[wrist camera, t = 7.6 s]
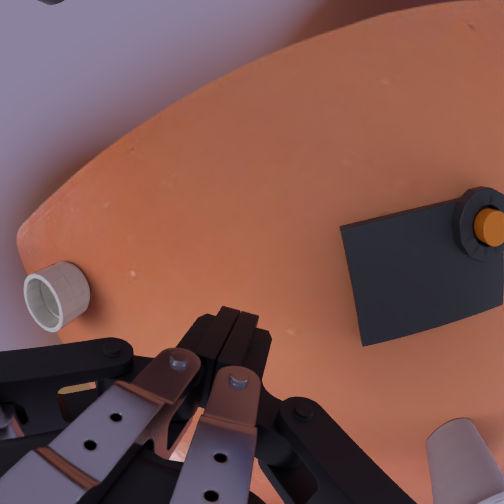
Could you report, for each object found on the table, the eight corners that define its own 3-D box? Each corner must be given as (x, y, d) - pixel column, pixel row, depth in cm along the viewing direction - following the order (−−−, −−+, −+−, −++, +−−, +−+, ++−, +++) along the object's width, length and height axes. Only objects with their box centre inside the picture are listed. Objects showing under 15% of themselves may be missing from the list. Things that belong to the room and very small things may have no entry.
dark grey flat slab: (337, 216, 23) (340, 222, 20) (490, 181, 19) (509, 183, 16) (360, 338, 25) (365, 357, 22) (498, 297, 21) (513, 310, 18)
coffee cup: (406, 433, 27) (428, 543, 12) (480, 395, 24) (528, 492, 10) (421, 468, 28) (437, 558, 14) (484, 436, 25) (517, 519, 11)
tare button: (471, 211, 18) (481, 214, 17) (496, 205, 17) (507, 207, 16) (475, 245, 18) (484, 250, 17) (499, 237, 18) (509, 242, 16)
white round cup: (47, 266, 30) (16, 279, 25) (79, 254, 28) (46, 268, 23) (66, 315, 31) (38, 333, 26) (100, 309, 29) (71, 330, 25)
